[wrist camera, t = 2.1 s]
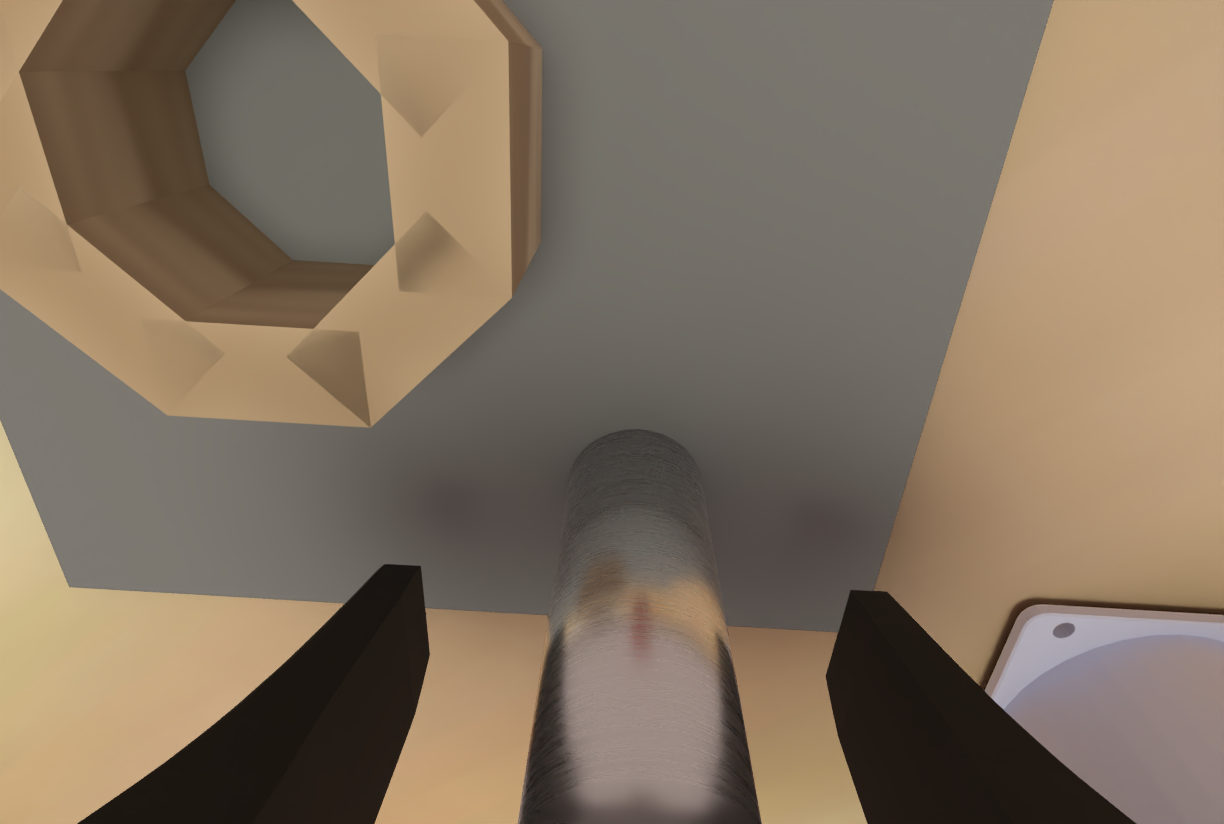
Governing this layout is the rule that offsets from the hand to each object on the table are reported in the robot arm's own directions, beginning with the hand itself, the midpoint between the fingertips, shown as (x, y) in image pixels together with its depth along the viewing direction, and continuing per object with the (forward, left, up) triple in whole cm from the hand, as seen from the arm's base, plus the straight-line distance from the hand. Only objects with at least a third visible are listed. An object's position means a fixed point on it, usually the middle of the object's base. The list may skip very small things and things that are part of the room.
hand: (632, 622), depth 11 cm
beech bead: (+6, -7, -4) cm, 10 cm away
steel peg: (0, 0, -4) cm, 4 cm away
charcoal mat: (+4, -4, -5) cm, 8 cm away
